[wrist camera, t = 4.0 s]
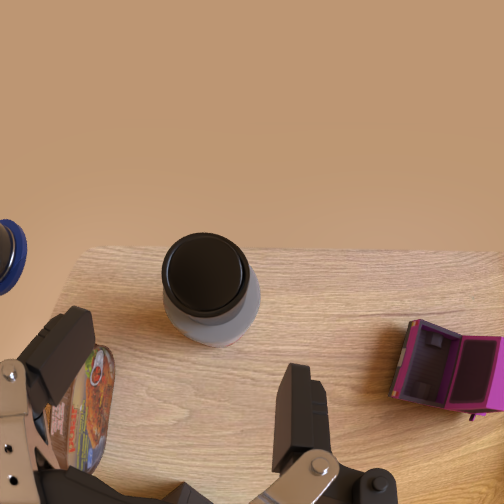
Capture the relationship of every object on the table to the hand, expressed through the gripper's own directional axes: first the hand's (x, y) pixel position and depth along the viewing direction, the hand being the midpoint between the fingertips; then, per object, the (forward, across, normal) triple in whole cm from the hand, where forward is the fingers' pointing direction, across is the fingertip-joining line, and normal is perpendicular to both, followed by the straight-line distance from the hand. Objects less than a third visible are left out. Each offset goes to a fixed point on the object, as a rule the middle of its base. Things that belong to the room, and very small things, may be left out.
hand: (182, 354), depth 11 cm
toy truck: (+15, -28, +14) cm, 35 cm away
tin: (+8, +11, +21) cm, 25 cm away
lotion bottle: (+17, 0, +12) cm, 21 cm away
